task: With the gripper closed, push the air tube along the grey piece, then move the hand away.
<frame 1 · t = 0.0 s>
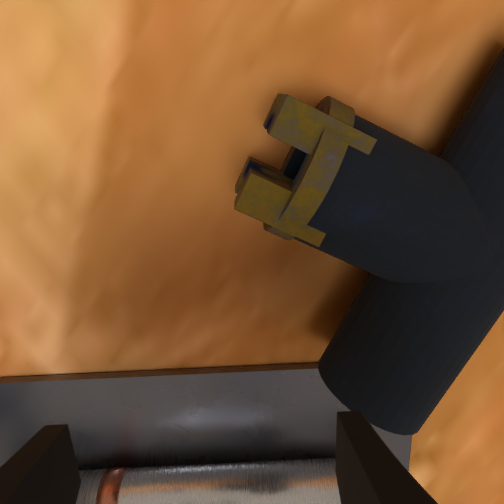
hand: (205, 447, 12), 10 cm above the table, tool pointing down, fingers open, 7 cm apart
grey piece: (126, 470, 26), on the table
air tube: (198, 475, 25), point 1 cm above the table, touching grey piece
pipe connector: (374, 196, 21), on the table, touching grey piece
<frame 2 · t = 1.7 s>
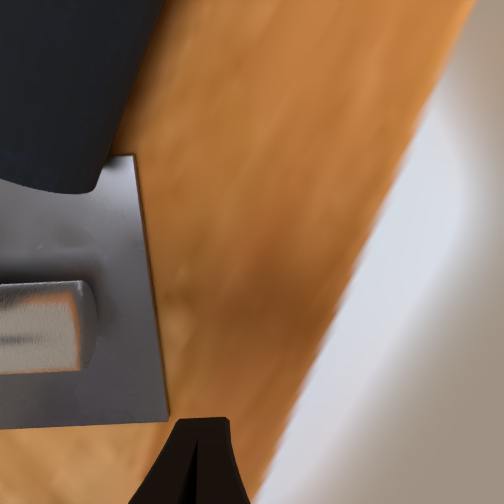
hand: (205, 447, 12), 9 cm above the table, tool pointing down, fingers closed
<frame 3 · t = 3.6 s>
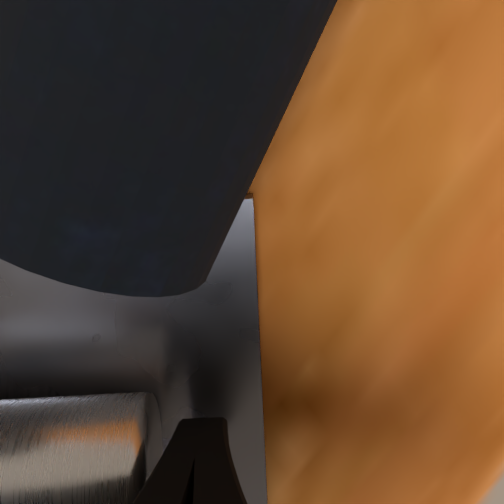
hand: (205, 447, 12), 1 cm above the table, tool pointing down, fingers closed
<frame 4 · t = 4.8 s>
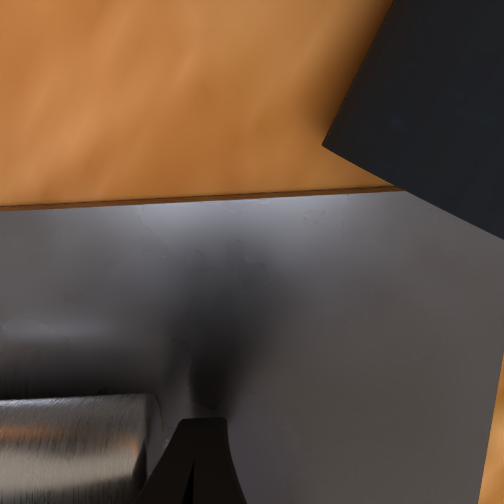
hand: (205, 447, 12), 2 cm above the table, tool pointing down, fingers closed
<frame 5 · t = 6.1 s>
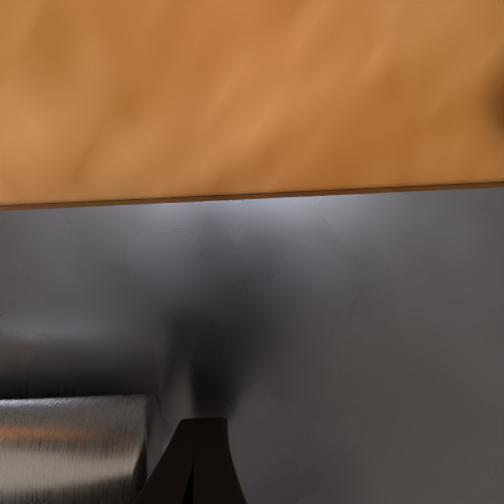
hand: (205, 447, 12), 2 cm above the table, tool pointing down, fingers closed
grey piece: (108, 414, 14), on the table
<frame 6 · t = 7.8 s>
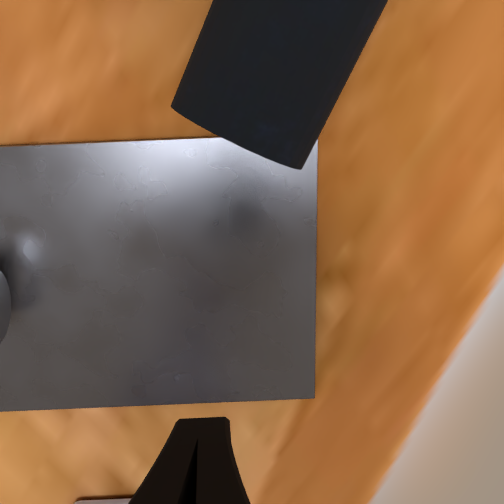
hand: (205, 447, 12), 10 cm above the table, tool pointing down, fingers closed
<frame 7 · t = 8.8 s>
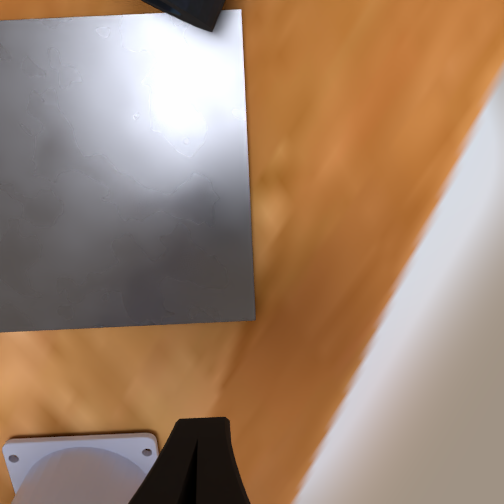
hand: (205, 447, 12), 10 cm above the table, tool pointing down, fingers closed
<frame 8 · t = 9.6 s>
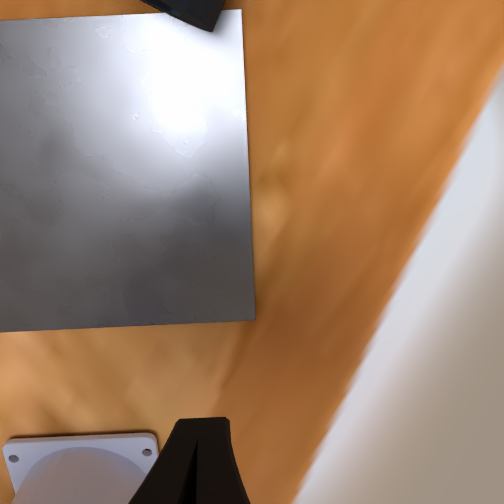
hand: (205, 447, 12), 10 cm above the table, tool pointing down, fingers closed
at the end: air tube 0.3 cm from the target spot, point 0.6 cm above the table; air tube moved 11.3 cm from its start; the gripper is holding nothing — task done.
